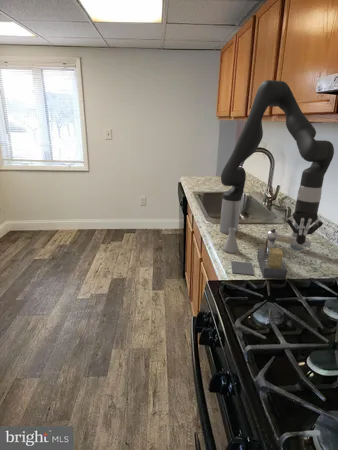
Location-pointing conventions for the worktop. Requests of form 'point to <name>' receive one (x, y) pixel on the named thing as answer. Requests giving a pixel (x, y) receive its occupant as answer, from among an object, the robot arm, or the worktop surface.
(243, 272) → the mat
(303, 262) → the worktop surface
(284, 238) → the lever
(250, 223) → the worktop surface
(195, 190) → the worktop surface
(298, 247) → the spray can
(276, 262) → the tan upright block
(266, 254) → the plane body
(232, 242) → the flask
